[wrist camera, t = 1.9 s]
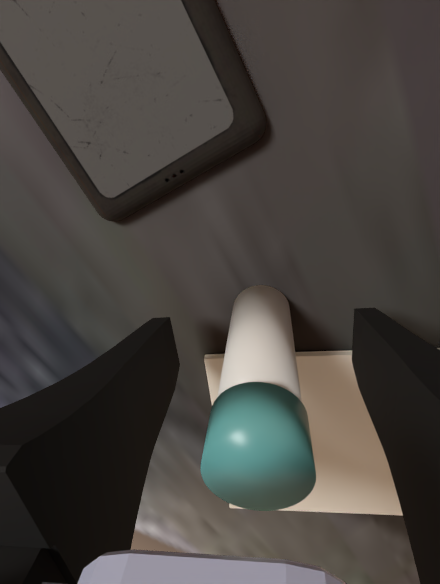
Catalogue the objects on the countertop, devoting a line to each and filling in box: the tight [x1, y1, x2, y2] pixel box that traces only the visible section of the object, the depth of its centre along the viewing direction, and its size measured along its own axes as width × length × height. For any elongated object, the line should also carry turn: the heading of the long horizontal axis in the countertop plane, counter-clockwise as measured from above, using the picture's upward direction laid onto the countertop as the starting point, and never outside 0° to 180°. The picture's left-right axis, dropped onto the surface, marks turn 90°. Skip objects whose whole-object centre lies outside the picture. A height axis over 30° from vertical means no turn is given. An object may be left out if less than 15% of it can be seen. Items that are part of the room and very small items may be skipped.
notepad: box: [204, 348, 440, 515], centre depth 16 cm, size 14×10×1 cm
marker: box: [201, 285, 316, 511], centre depth 10 cm, size 2×2×7 cm
